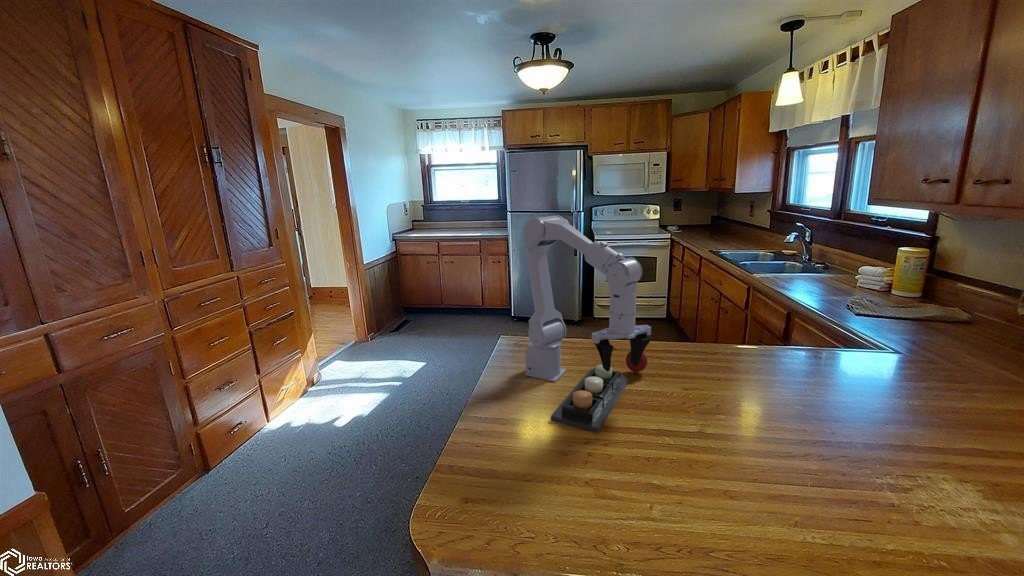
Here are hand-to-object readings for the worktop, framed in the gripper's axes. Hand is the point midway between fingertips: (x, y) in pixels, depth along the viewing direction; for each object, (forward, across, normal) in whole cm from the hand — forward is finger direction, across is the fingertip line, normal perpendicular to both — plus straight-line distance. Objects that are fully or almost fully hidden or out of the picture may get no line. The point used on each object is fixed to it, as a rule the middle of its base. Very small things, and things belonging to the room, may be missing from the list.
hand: (620, 366), depth 97 cm
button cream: (+7, -5, +4) cm, 10 cm away
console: (+10, -5, +4) cm, 12 cm away
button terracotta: (+7, -11, -1) cm, 13 cm away
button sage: (+7, +1, +10) cm, 12 cm away
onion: (+10, +13, +13) cm, 21 cm away
